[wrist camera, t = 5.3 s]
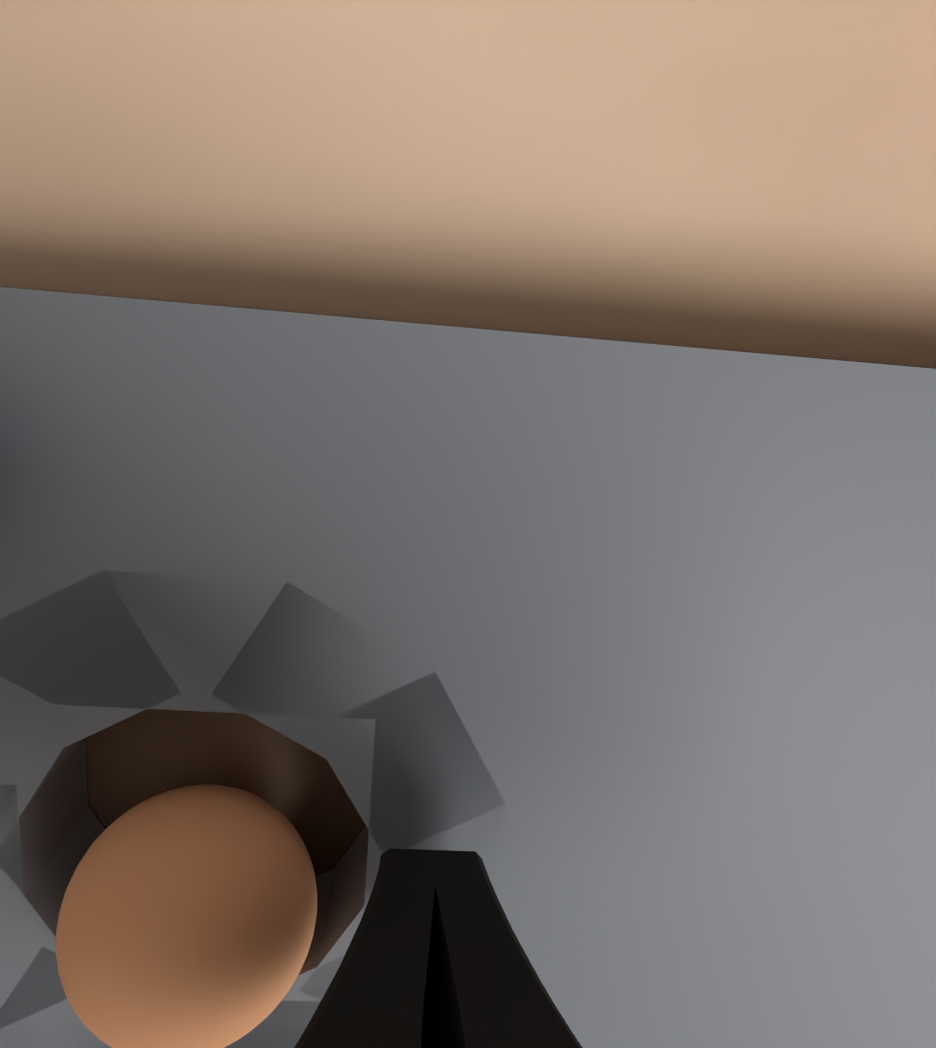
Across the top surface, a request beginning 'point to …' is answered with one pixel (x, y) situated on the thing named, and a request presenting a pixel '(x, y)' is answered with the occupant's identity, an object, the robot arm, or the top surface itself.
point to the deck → (496, 643)
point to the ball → (186, 920)
